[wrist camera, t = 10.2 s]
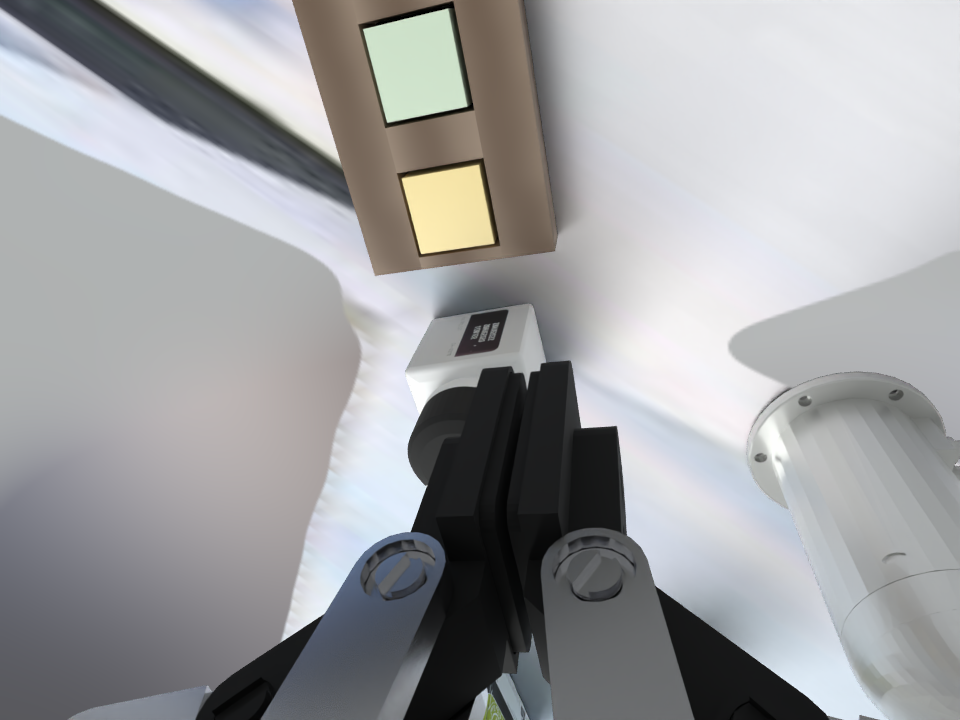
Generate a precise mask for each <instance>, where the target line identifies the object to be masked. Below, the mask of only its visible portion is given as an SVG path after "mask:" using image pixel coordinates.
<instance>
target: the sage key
mask: <svg viewBox="0 0 960 720" xmlns="http://www.w3.org/2000/svg"><path fill="white" fill-rule="evenodd" d="M363 31H364V35H365V39H366V43H367V47H368V50H369V54H370V58H371V62H372V66H373V70H374V74H375V78H376V81H377V85H378V89H379V93H380V97H381V101H382V105H383V109H384V112H385V116H386V120H387V123H389V122H393V121H398V120H403V119H408V118H413V117H418V116H423V115H428V114H433V113H438V112H443V111H448V110H453V109H458V108H463V107H467V106H469V105H470V104H471V103H473V101H472V95H471V90H470V85H469V80H468V74H467V69H466V64H465V59H464V54H463V48H462V43H461V38H460V33H459V27H458V22H457V17H456V12H455V9H449V8H448V9H444V10H440V11H436V12H432V13H428V14H424V15H419V16H415V17H411V18H407V19H403V20H399V21H395V22H391V23H387V24H383V25H379V26H375V27H371V28H367V29H363Z"/></svg>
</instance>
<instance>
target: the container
mask: <svg viewBox="0 0 960 720" xmlns="http://www.w3.org/2000/svg"><path fill="white" fill-rule="evenodd" d="M541 363H546V359H545V354H544V350H543V346H542V341H541V337H540V333H539V329H538V324H537V320H536V316H535V311H534V308H533V306H532V305H531V304H528V303H527V304H521V305H515V306H509V307H503V308H497V309H491V310H485V311H479V312H473V313H467V314H461V315H455V316H449V317H443V318H437V319H434V320H432V321H431V323H430V325H429V327H428V329H427V331H426V333H425V334H424V336H423V338H422V340H421V342H420V344H419V346H418V348H417V350H416V351H415V353H414V355H413V357H412V359H411V361H410V363H409V365H408V367H407V369H406V370H405V376H406V378H407V381H408V384H409V387H410V390H411V392H412V395H413V398H414V401H415V403H416V406H417V409H418V412H419V414H420V416H419V418H418V421H417V423H416V425H415V428H414V430H413V432H412V435H411V437H410V440H409V443H408V458H409V462H410V465H411V467H412V469H413V471H414V473H415V474H416V475H417V477H418V478H419V479H420V480H421V482H422V483H423V484H424V485H425V486H427V485H428V482H429V479H430V477H431V474H432V471H433V468H434V465H435V463H436V460H437V457H438V454H439V451H440V448H441V446H442V443H443V441H444V439H445V438H447V437H456V436H461V434H462V431H463V428H464V425H465V422H466V418H467V415H468V412H469V409H470V406H471V403H472V400H473V396H474V393H475V390H476V387H477V384H478V381H479V377H480V374H481V371H482V369H484V368H495V367H506V366H512V368H513V370H514V373H522V372H523V374H524V376H525V381H526V386H527V388H528V383H529V377H530V373H531V372H533V371H540V366H541Z"/></svg>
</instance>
